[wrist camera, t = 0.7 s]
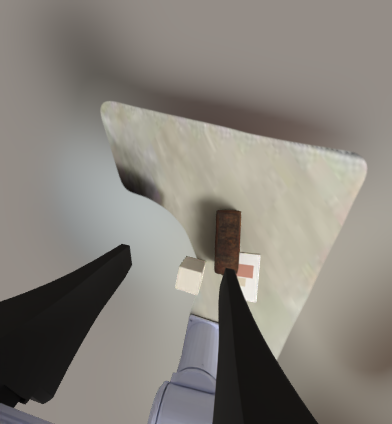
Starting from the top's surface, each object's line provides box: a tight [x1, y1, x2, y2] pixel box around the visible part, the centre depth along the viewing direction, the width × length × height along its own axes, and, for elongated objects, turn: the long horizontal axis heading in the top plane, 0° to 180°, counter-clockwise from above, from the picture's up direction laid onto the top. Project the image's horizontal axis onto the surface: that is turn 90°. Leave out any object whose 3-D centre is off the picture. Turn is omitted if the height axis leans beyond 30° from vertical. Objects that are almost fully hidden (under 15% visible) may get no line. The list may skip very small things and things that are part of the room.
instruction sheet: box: [236, 253, 260, 302], centre depth 28 cm, size 9×6×1 cm, turn 177°
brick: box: [214, 210, 241, 275], centre depth 26 cm, size 11×4×5 cm, turn 179°
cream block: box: [175, 256, 206, 295], centre depth 28 cm, size 4×4×5 cm
